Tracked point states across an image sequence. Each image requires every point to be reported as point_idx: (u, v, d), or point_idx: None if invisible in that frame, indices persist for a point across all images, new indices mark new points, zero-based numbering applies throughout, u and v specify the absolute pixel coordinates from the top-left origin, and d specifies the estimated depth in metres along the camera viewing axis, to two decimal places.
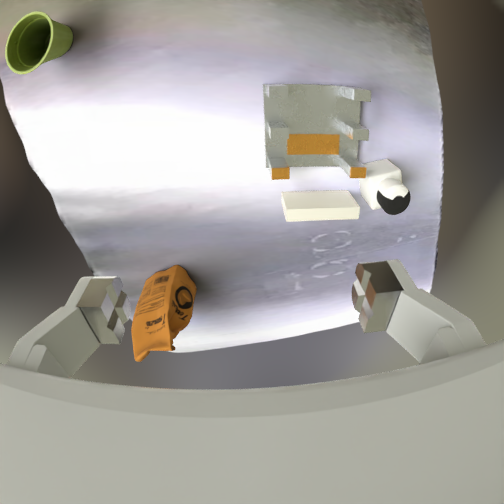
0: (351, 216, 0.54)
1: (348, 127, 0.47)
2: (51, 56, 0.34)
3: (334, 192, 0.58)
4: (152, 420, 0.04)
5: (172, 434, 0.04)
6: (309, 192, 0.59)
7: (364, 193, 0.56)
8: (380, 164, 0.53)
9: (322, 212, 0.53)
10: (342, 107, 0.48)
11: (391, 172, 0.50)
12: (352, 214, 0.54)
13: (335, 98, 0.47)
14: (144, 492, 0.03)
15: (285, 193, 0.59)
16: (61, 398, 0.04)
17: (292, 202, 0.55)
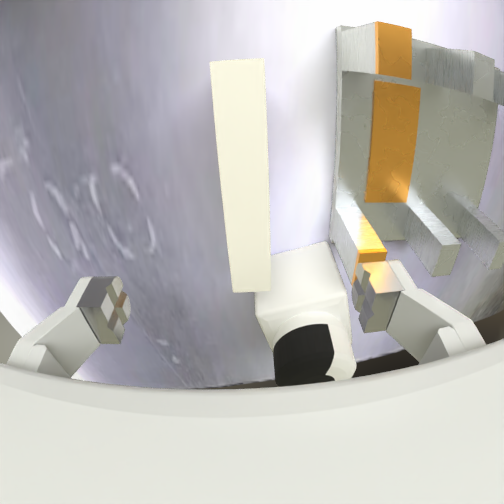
0: (239, 274, 0.19)
1: (444, 227, 0.20)
2: None
3: None
4: (152, 420, 0.04)
5: (172, 434, 0.04)
6: None
7: (275, 274, 0.25)
8: None
9: (251, 187, 0.15)
10: (449, 206, 0.23)
11: (349, 331, 0.24)
12: (246, 276, 0.19)
13: (465, 194, 0.22)
14: (144, 492, 0.03)
15: None
16: (61, 398, 0.04)
17: None
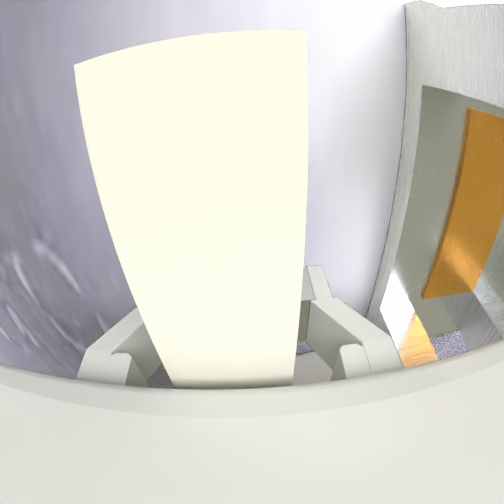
0: None
1: None
2: None
3: None
4: (152, 420, 0.04)
5: (172, 434, 0.04)
6: None
7: None
8: None
9: None
10: None
11: None
12: None
13: None
14: (144, 492, 0.03)
15: None
16: (61, 398, 0.04)
17: None
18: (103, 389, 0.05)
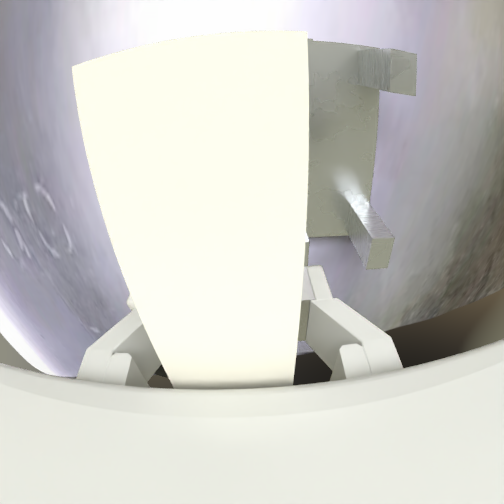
0: None
1: None
2: None
3: None
4: (152, 420, 0.04)
5: (172, 434, 0.04)
6: None
7: None
8: None
9: None
10: (327, 203, 0.26)
11: None
12: None
13: (346, 189, 0.26)
14: (144, 492, 0.03)
15: None
16: (61, 398, 0.04)
17: None
18: (103, 389, 0.05)
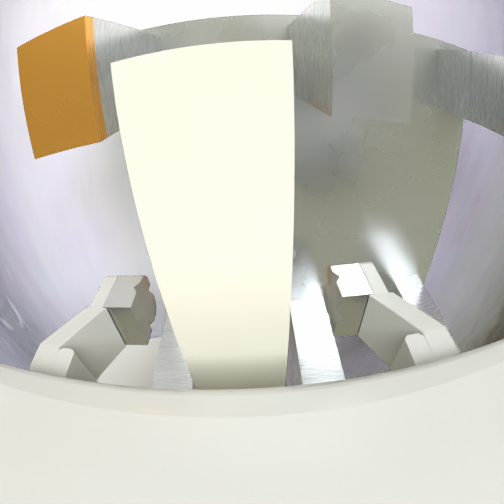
0: None
1: (330, 345, 0.14)
2: None
3: None
4: (152, 420, 0.04)
5: (172, 434, 0.04)
6: None
7: (116, 373, 0.18)
8: None
9: (250, 363, 0.07)
10: None
11: None
12: None
13: (397, 270, 0.16)
14: (144, 492, 0.03)
15: None
16: (61, 398, 0.04)
17: None
18: (103, 389, 0.05)
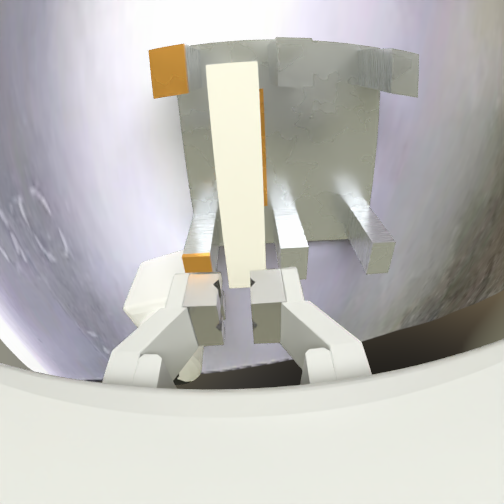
0: (235, 270, 0.19)
1: (299, 229, 0.23)
2: None
3: None
4: (152, 420, 0.04)
5: (172, 434, 0.04)
6: None
7: (148, 275, 0.28)
8: None
9: (246, 185, 0.16)
10: (327, 206, 0.26)
11: None
12: (242, 272, 0.19)
13: (346, 192, 0.25)
14: (144, 492, 0.03)
15: None
16: (61, 398, 0.04)
17: None
18: (103, 389, 0.05)
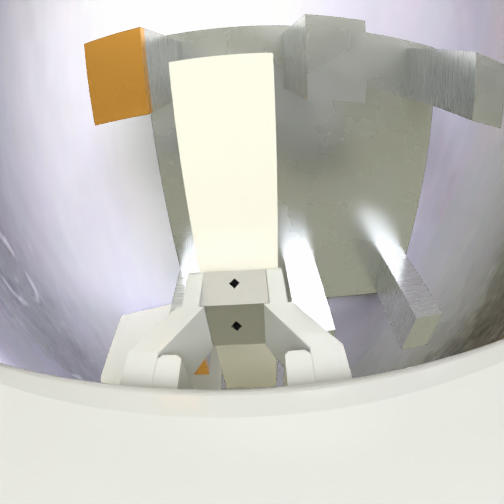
0: (234, 373, 0.13)
1: (321, 299, 0.17)
2: None
3: None
4: (152, 420, 0.04)
5: (172, 434, 0.04)
6: None
7: (128, 337, 0.21)
8: (210, 357, 0.23)
9: None
10: (355, 257, 0.20)
11: None
12: (243, 375, 0.13)
13: (380, 239, 0.19)
14: (144, 492, 0.03)
15: None
16: (61, 398, 0.04)
17: None
18: (103, 389, 0.05)
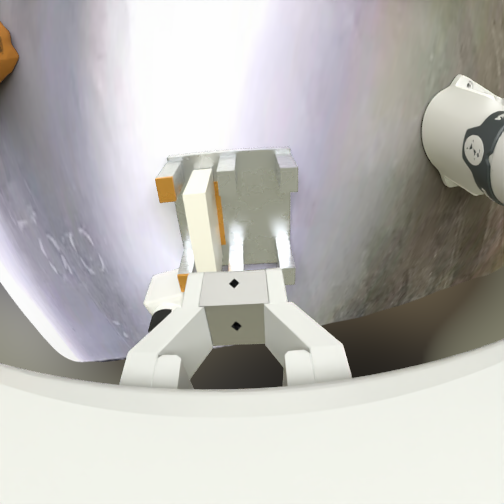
0: None
1: (241, 260, 0.42)
2: None
3: (220, 243, 0.43)
4: (152, 420, 0.04)
5: (172, 434, 0.04)
6: (215, 209, 0.40)
7: (158, 284, 0.46)
8: None
9: (205, 245, 0.35)
10: (262, 244, 0.45)
11: None
12: None
13: (273, 235, 0.44)
14: (143, 492, 0.03)
15: (211, 175, 0.37)
16: (61, 398, 0.04)
17: (209, 195, 0.34)
18: (103, 389, 0.05)
